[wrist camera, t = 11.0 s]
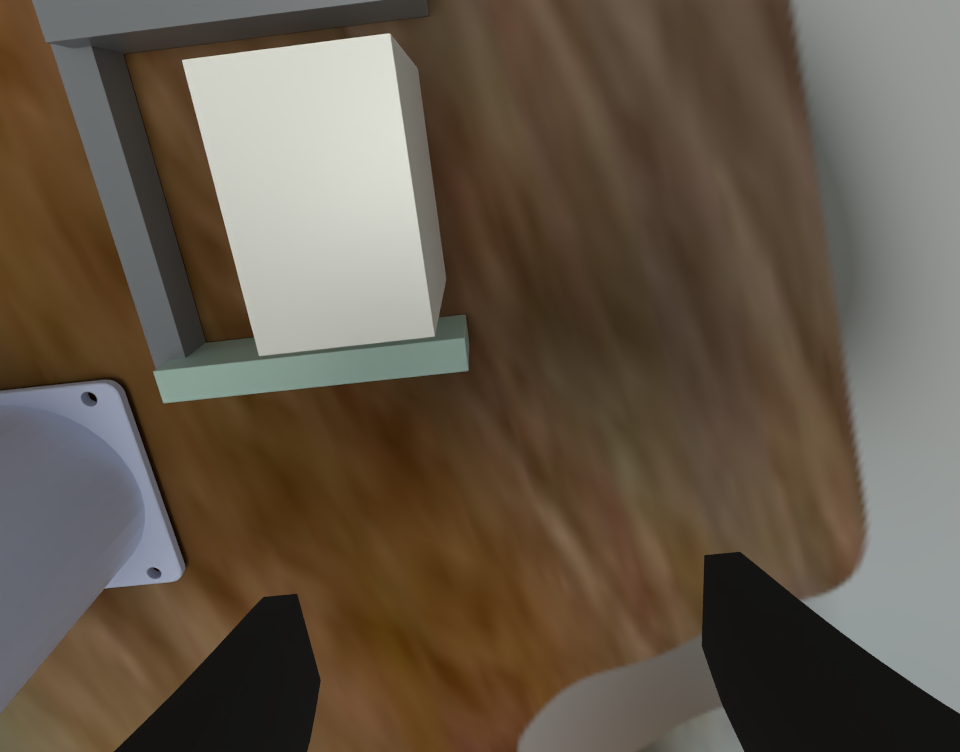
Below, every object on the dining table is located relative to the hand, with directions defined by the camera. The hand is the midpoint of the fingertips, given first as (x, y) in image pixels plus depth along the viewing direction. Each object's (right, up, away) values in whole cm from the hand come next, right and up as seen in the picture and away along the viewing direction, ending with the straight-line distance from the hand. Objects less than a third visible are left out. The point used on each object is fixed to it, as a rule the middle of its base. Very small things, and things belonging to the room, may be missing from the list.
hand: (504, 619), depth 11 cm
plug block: (-4, +10, +7) cm, 13 cm away
